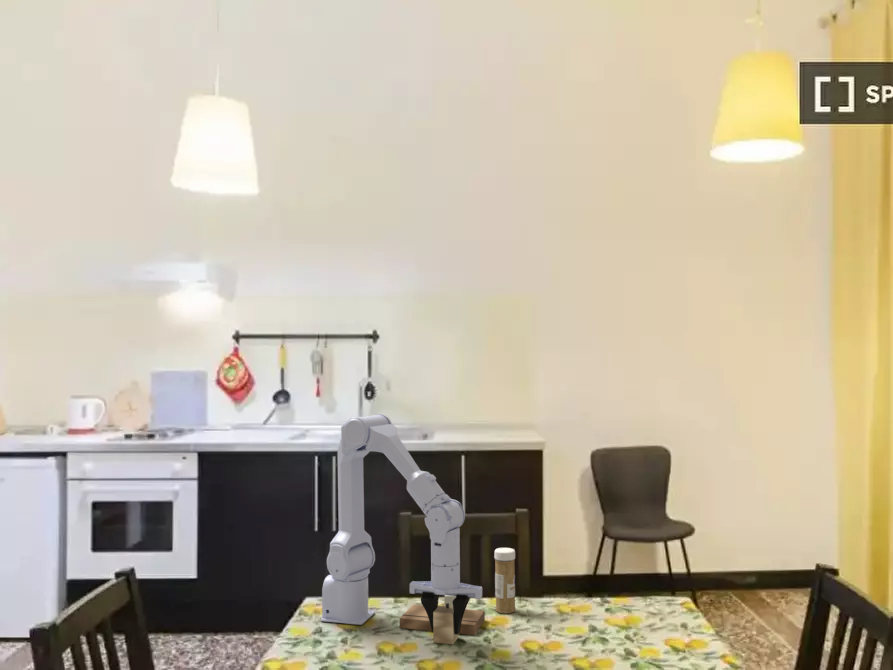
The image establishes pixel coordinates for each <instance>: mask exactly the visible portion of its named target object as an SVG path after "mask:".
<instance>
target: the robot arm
mask: <svg viewBox="0 0 893 670" xmlns="http://www.w3.org/2000/svg"><path fill="white" fill-rule="evenodd" d="M397 429H398V428H397V427H396V425H394V424H393V423H392V420H391V419H390V417H389V416H387V415H385V414H383V413H378V414H374V415H368V416H353V417H350V418H349V419H348V420H347V421H346V422H344V423H343V425H341V429H340V431H341V433H340V434H341V435H340V436H341V437H340V438H341V439H340V441H339V444H338V446H337V502H338V503H337V505H338V506H337V510H338V515H337V516H338V531H337V533H336V534H335V536H334V537H333V538H332V540H331V541H330V543H329V552H328V555H327V557H326V566H327V567H326V568H327V571H328V572H329V574H328V575H327V576H325V578H324V580H323V584H322V589H321V607H322V608H321V609H322V612H321V618H320V621H321V622H329V623H335V624H336V623H338V624H339V623H340V624H348V625H359V626H362V625H363V624H365V623H366V622H367V621H368V620H369V619H370V618H371V617H372V616H373V615H375V614H376V612H375V610H371V609H369V574H370V573H371V571H370V569H371V568H372V567H373V566H374V564H375V562H376V554H375V553H376V552H375V550H374V547H373V544H372V536H371V535H370V533H368V532H367V531H366V530H365V495H364V494H365V493H364V492H365V490H364V488H365V487H364V483H365V482H364V458H365V457H366V456H367V455H368V454H369V453H371V452H377V453H382V454H384V455H385V457H386V458H387V459H388V460H389V461H390V463H391V464H392V465H393V466H394V467H395V469H396V470H397V471H398V472H399V473H400V474H401V476H403V478H404V479H405V480H406V490H407V492H408V494H409V495H410V497H411V498H412V499H413V501H414V502H415V503H416V504H417V505H418V507H419V508H420V509H421V511H422V513H423V514H424V515H425V517H424V524H425V526H426V528H427V529H428V532H429V539H430V562H431V563H430V564H431V565H430V574H431V575H430V578H431V579H430V581H429V580H428V581H427V580H426V581H424V580H423V581H422V580H421V581H419V580H417V581H414V580H412V581H411V582H410V583H409V594H413V595H414V594H421V598H420V603H421V605H423V606H424V608H425V610H426V613H427V615H428V618H429V621H430V625H431V630H432V631H431V633H433V612H434V611H435V609H436V608H437V607H438V606H439V597H440V596H445V595H448V596H456V598H455V599H454V600H453V610H454V634H456V635H458V636H459V635H460V634H459V632H460V628H461V622H462V618H463V615H464V612H465V609H467V606H468V603H469V601H470V600H471V598H473V599H475V600H481V599H482V597H483V587H482V586H481V585H480V586H479V585H473V584H468V583H464V582H461V556H460V555H461V554H460V553H461V550H460V549H461V547H460V545H461V544H460V543H461V542H460V541H461V539H460V536H461V535H460V534H461V533H460V532H461V531H460V530H461V529H460V527H461V526H463V524H464V522H465V519H466V513H465V510H464V508H463V506H462V504H461V502H460V501H458V500H456V499H452V498H451V497H450V496H449V495H448V494H446V493H445V491H444V490H443V488H442V487H441V485H439V483H438V482H437V477H436V476H435V475H434V474H431V473H430V472H429V471H424V470H421V469H420V467H419V465H418V464H417V463H416V462H415V460H414V457H412V455H411V454H410V452H409V451H408V449H407V448H406V446H405V445H404V443H403V442H402V440H401V439H400V437H399V435H398V430H397Z"/></svg>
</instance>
